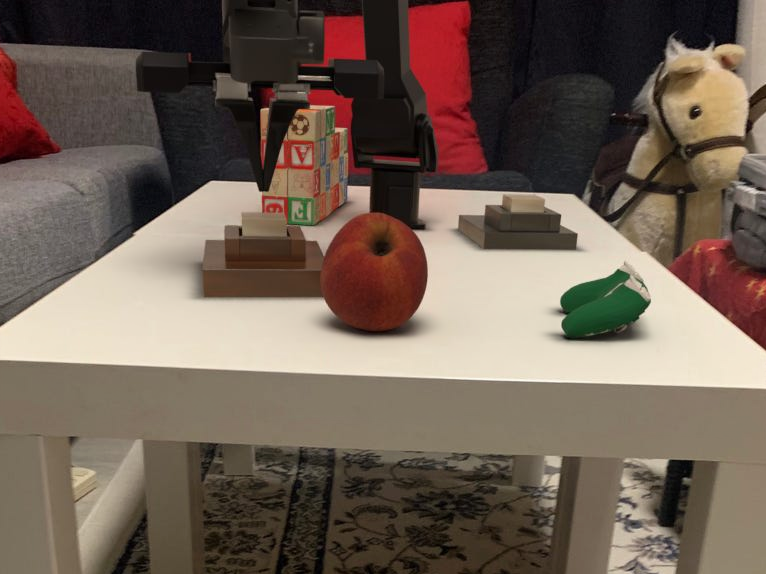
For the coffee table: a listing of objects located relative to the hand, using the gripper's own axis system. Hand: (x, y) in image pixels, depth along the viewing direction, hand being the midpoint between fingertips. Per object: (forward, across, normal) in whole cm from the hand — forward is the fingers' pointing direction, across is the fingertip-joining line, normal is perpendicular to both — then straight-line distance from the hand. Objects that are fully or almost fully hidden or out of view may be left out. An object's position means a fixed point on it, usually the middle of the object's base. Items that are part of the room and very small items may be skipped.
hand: (263, 191), depth 77 cm
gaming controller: (+8, +24, -16) cm, 30 cm away
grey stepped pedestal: (+7, +28, +21) cm, 36 cm away
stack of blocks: (+8, +7, +40) cm, 41 cm away
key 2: (+4, +28, +19) cm, 34 cm away
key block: (+7, 0, 0) cm, 7 cm away
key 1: (+4, 0, 0) cm, 4 cm away
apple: (+7, +7, -16) cm, 19 cm away
